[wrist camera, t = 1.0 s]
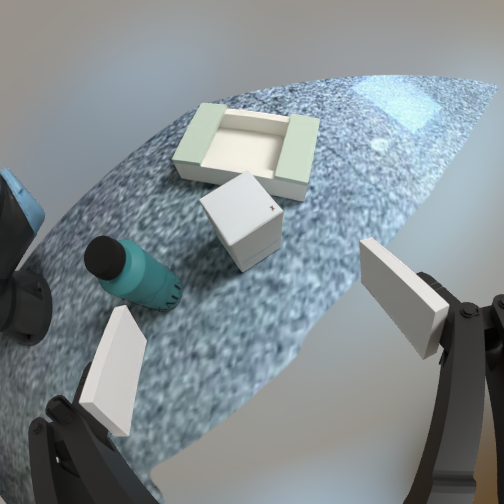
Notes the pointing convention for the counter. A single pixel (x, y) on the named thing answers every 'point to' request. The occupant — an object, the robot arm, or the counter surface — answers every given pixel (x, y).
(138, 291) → the beverage bottle
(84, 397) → the robot arm
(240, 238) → the supplement box
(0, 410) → the counter surface
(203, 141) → the cream green tray
